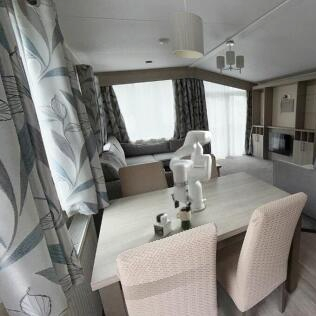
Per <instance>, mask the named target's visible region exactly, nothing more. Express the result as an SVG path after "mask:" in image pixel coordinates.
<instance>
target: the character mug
mask: <svg viewBox="0 0 316 316" xmlns="http://www.w3.org/2000/svg"><path fill="white" fill-rule="evenodd" d="M194 213H195V211H193V209H192V210H191V211H189V212H186V205H185V206H182V207H179V209H178V213H176V215H175V217H176V220H177V219H179V220H180V221H181V222H180V228H181V229H182V230H189V229H190V228H191V227H192V223H191V218H192V215H194Z"/></svg>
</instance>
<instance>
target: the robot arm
mask: <svg viewBox="0 0 316 316" xmlns="http://www.w3.org/2000/svg"><path fill="white" fill-rule="evenodd" d="M211 141H212V134H211V132H210V131H209V130H190V131H188V132H187V133H186V136H185V140H184V142H183V145H182V146H181V147H180V148H178V149H177V150H176V151H174V152H173V154H172V156H171V159H170V161H169V169H170V170H171V171H172V175H173V176H172V177H173V193H171V194H170V196H171V198H172V200H173V203H174V209H177V208H180V202H181V203H183V204H185V206H186V212H189V211H191V210H192V209H193V212H201V211H203V210H204V209H205V207H206V206H205V204H204V203H205V202H207V199H206V198H204V199H203V190H202V189H203V187H202V183H201V182H209V181H210V180H211V176H212V163H213V161H212V159H213V158H212V156H211V155H210V154H205V153H204V148H203V146H202V145H201V144H208V143H210V142H211ZM187 156H190V159H182V158H184V157H187ZM191 212H192V211H191Z"/></svg>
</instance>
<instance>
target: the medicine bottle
mask: <svg viewBox="0 0 316 316" xmlns="http://www.w3.org/2000/svg"><path fill="white" fill-rule="evenodd" d="M155 219H156V222H154V223H153V231H154V235H155V236H159V237H162V238H166V236H167V235H168V234H170V233H171V232H172V231H173V229H172V220H170V219H168V213H166V212H165V213H164V212H163V213H159V214H157V215H156V216H155Z"/></svg>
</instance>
